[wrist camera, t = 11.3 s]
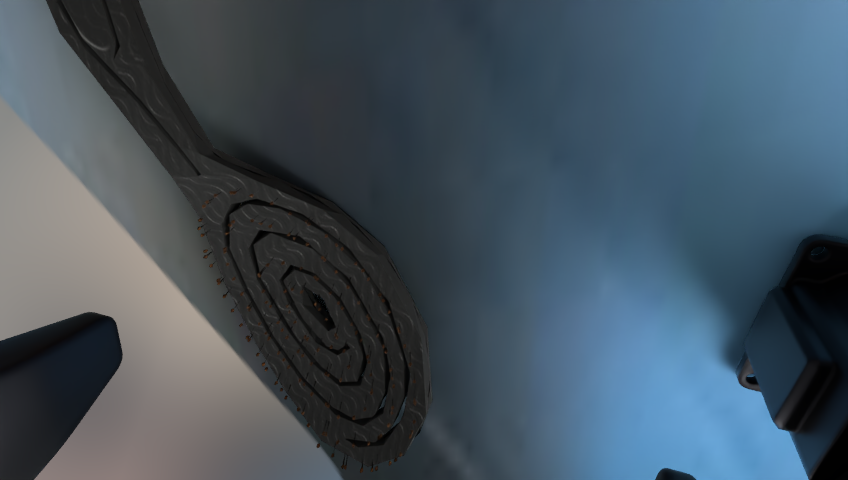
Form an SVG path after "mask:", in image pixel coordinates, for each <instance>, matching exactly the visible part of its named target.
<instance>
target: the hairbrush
mask: <svg viewBox="0 0 848 480" xmlns="http://www.w3.org/2000/svg"><path fill="white" fill-rule="evenodd" d="M46 1H47V4H48V6H49V8H50V11H51V13H52V15H53V18H54V20H55V23H56V25H57V27H58V30H59V32H60V34H61V35H62V36H63V37H64V39H65V40H66V41H67V43H68V44H69V45H70V46H71V48H72V49H73V50H74V52H75V53H76V54H77V55H78V57H79V58H80V59H81V60H82V62H83V63H84V64H85V66H86V67H87V68H88V69H89V71H90V72H91V73H92V75H93V76H94V77H95V78H96V80H97V81H98V82H99V84H100V85H101V86H102V87H103V89H104V90H105V91H106V92H107V94H108V95H109V96H110V98H111V99H112V100H113V101H114V103H115V104H116V105H117V107H118V108H119V109H120V111H121V112H122V113H123V114H124V116H125V117H126V118H127V120H128V121H129V122H130V123H131V125H132V126H133V127H134V129H135V130H136V131H137V133H138V134H139V135H140V136H141V138H142V139H143V140H144V142H145V143H146V144H147V145H148V147H149V148H150V149H151V151H152V152H153V153H154V155H155V156H156V157H157V158H158V160H159V161H160V162H161V164H162V165H163V166H164V167H165V169H166V170H167V171H168V173H169V174H170V175H171V177H172V178H173V179H174V181H175V182H176V184H177V185H178V186H179V188H180V189H181V191H182V192H183V194H184V195H185V197H186V198H187V200H188V201H189V202H190V204H191V205H192V207H193V208H194V210H195V211H196V213H197V214H198V215H199V217H200V219H198V221H199V222H202V225H203V226H201V227H203V228H204V230H205V233H206V236H207V238H208V241H209V243H210V246H211V249H212V251H213V254H214V257H215V259H216V262H217V264H218V267H219V270H220V272H221V275H222V278H223V279H222V280H224V283H225V285H226V287H227V289H228V292H229V293H230V295H231V296H232V298H233V300H234V302H235V304H236V306H237V308H238V310H239V312H240V314H241V316H242V317H243V319H244V321H245V323H246V325H247V327H248V329H249V331H250V334H251V335H252V336H253V338H254V340H255V342H256V344H257V346H258V347H259V349H260V351H261V352H262V354H263V356H264V357H265V359H266V360H267V362H268V365H270V367H271V369H272V370H273V372H274V373H275V375H276V377H277V378H278V379H277V381H278V380H279V381H280V383H281V385H282V386H283V387H282V388H281V390H280V391H283V388H284V390H285V391H286V393H287V394H288V395H289V397H290V398H291V399H292V401H293V402H294V404H295V405H296V406H297V411H299V410H300V412H301V414H302V415H303V416H304V417H305V419H306V420H307V421H308V424H307V427H308V428H309V426H311V427H312V428H313V430H314V431H315V432H316V434H317V435H318V437H319V438H320V439H321V441H323V442H325V443H327V444H328V445H330V446H332V447H334V449H335V448H336V449H337V450H339V451H341V452H343V453H344V454H346V455H347V457H348V456H350V457H351V458H353V459H355V460H357V461H359V462H360V463H362V468H361V470H360V473H362V472H363V464H364V465H366V466H367V467H369V466H372V468H371V472H373V465H375V464H379V463H382V462H385V461H388V460H390V461H389V466H390V465H391V463H392V462H391V459H394V458H395V459H394V462H396V461H397V458H398V457H401V456H404V454H405V453H406V451H407V450H408V448H409V447H410V445H411V444H412V442H413V440H414V438H415V437H416V436H417V435H418V434H419V433H420V431H421V428H422V426H423V423H424V420H425V418H426V415H427V413H428V410H429V408H430V405H431V403H432V386H431V372H430V357H429V343H428V329H427V325H426V324H425V322H424V320H423V318H422V316H421V314H420V312H419V310H418V309H417V307H416V305H415V303H414V301H413V299H412V297H411V295H410V294H409V292H408V290H407V288H406V286H405V284H404V282H403V280H402V279H401V277H400V275H399V273H398V271H397V269H396V267H395V266H394V264H393V262H392V260H391V258H390V256H389V254H388V252H387V251H386V249H385V247H384V246H383V245H382V244H381V243H380V242H378V241H377V240H376V239H375V238H374V237H373V236H371V235H370V234H369V233H368V232H367V231H365V230H364V229H363V228H362V227H361V226H360V225H358V224H357V223H356V222H355V221H354V220H352V219H351V218H350V217H349V216H348V215H347V214H345V213H344V212H343V211H342V210H341V209H339V208H338V207H337V206H336V205H335V204H334V203H332V202H331V201H329V200H326V199H324V198H322V197H320V196H317V195H315V194H313V193H311V192H308V191H306V190H304V189H302V188H299V187H297V186H295V185H293V184H291V183H288V182H286V181H284V180H282V179H279V178H277V177H275V176H273V175H270V174H268V173H266V172H264V171H262V170H260V169H258V168H255V167H253V166H251V165H249V164H247V163H245V162H243V161H241V160H238V159H236V158H234V157H232V156H230V155H228V154H226V153H224V152H221V151H219V150H217V149H215V148H214V147H213V145H212V144H211V142H210V140H209V139H208V137H207V136H206V134H205V132H204V131H203V129H202V128H201V126H200V124H199V123H198V121H197V119H196V118H195V116H194V115H193V113H192V111H191V110H190V108H189V106H188V105H187V103H186V102H185V100H184V98H183V97H182V95H181V94H180V92H179V90H178V89H177V87H176V85H175V84H174V82H173V81H172V79H171V77H170V76H169V74H168V72H167V71H166V69H165V68H164V66H163V64H162V61H161V59H160V56H159V53H158V51H157V48H156V46H155V43H154V40H153V38H152V35H151V33H150V30H149V27H148V25H147V22H146V20H145V17H144V14H143V12H142V9H141V7H140V4H139V1H138V0H46ZM248 200H249V201H248ZM244 201H247V202H245V203H244V204H242V205H241V206H240V207H239V205H240V203H241V202H244ZM238 207H239V208H238ZM201 227H198V229H197V230H200V229H201ZM263 230H264V231H268V232H266V233H264V234H263ZM204 235H205V234H201V237H203V236H204ZM207 251H208V249H206V250H204V251H203V252H204V253H206V252H207ZM210 253H211V252H210ZM210 253H209V254H210ZM209 254H208V255H209ZM208 255H205V256H204V257H203V258H207V257H208ZM214 263H215V262H214ZM214 263H213V264H214ZM213 264H210V266H209V267H213ZM293 266H294V268H293V269H292V271H291V272H290V273H289V271H290V270H291V268H292V267H293ZM220 280H221V279H219V278H218V279H217V282H218V283H217V285H219V284H221V281H222V280H221V281H220ZM219 281H220V282H219ZM228 292H227V293H228ZM312 292H314V293H315V294H317V295H318V298H319V296H320V297H322V298H323V299H324V301H325V304H326V306H327V308H328V310H329V312H328V313H327V312H326V311H325V309H324V308H323V307H322V306H321V305H322V303H321V305H320V304H319V303H318V301H317V300H318V299H317V300H316V299H315V298H314V296H313V293H312ZM227 293H226V294H224V295H223V298H225V297H226V295H227ZM322 302H323V301H322ZM232 312H234V309H231V313H232ZM329 313H330V315H331V316H330V315H329ZM331 317H332V318H331ZM244 321H243V322H244ZM242 325H243V324H242V323H241V324H240V325H239V326H240V327H241V326H242ZM252 336H251V337H252ZM249 337H250V336H247V337H246V339H248V341H247V342H249V341H250V340H251V337H250V338H249ZM260 351H259V352H260ZM259 354H260V353H257V355H256V356H259ZM266 360H265V361H266ZM367 362H368V363H367ZM366 364H367V366H366ZM264 365H265V362H264V363H262V366H264ZM365 368H366V369H365ZM267 369H268V367H266V368H265V371H267ZM364 370H365V373H364V376H363V377H362V376H361V374H362V373H363V372H364ZM410 374H411V375H410ZM277 381H276V382H275V384H274V385H276V384H278V382H277ZM407 392H408V393H407ZM386 395H387V397H386V403H385V406H384V407H383V408H381V409H379V408H380V406H381V403H382V400H383V399H384V398H385V396H386ZM406 395H407V399H406V405H405V411H404V414H403V417H402V419H401V421H400V422H399V423H398V424H397V425H395V426H394V427H393V428H392V429H391V427H392V426H393V424H394V422H395V420H396V419H397V417H398V415H399V412H400V409H401V407H402V404H403V402H404V400H405V397H406ZM284 399H287V396H285V398H284ZM378 409H379V410H378ZM390 429H391V430H390ZM386 432H387V433H386ZM385 433H386V434H385ZM319 442H320V441H319ZM319 447H320V443H319V444H317V448H319ZM331 457H332V458H333V457H334V453H333V454H332V456H331ZM344 460H345V456H344ZM346 466H347V460H346V465H345V467H344V461H343V465H342V466H341V468H342V469H343V468H344V469H345V470H346V468H347V467H346ZM377 470H378V466H376V468H375V471H377Z"/></svg>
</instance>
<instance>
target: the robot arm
mask: <svg viewBox="0 0 848 480" xmlns="http://www.w3.org/2000/svg"><path fill="white" fill-rule="evenodd" d="M817 247H824V250H823V251H822V252H821V253H819V254H817V255H812V254H811V252H812V251H813V249H815V248H817ZM743 345H744V348H745V353H744V355H743V357H742V359H741V361H740V363H739V365H738V367H737V369H736V375H737V378H738V381H739V383H740V384H741V385H742V386H743V387H745V388H747V389H751V390H755V391H759V392H762V395H763V397H764V400H765V402H766V405H767V408H768V410H769V413H770V415H771V418H772V420H773V422H774V423H775V425H776V426H777V427H778V429H782V430H786V431H789V432H790V435H791V437H792V440H793V442H794V444H795V447H796V449H797V452H798V454H799V457H800V459H801V461H802V464H803V466H804V469H805V471H806V474H807V476H808V478H809V480H848V240H847V239H842V238H837V237H831V236H826V235H812V236H809V237H807V238H805V239H804V240H803V241H802V242H801V243H800V244H799V246H798V248H797V250H796V252H795V254H794V256H793V258H792V260H791V262H790V264H789V266H788V268H787V270H786V272H785V274H784V276H783V278H782V280H781V282H780V284H779V286H777V287H775V288H773V289H772V290H770V291H769V293H768V295H767V297H766V299H765V301H764V303H763V305H762V307H761V309H760V311H759V313H758V315H757V317H756V319H755V321H754V323H753V325H752V327H751V329H750V331H749V333H748V335H747V337H746V339H745V341H744V343H743ZM122 355H123V354H122V348H121V343H120V339H119V334H118V329H117V325H116V322H115V321H114V320H113V318H111V317H109V316H105V315H101V314H98V313H93V312H87V313H83V314H80V315H78V316H74V317H71V318H68V319H65V320H62V321H59V322H56V323H53V324H50V325H47V326H44V327H41V328H38V329H35V330H32V331H29V332H26V333H23V334H20V335H17V336H14V337H11V338H8V339H5V340H2V341H0V480H34V479H35V478H36V477H37V475H38V474H39V473H40V472H41V471H42V470H43V468H44V467H45V466H46V465H47V464H48V463H49V461H50V460H51V459H52V458H53V457H54V456H55V454H56V453H57V452H58V451H59V449H60V448H61V447H62V446H63V445H64V443H65V442H66V441H67V439H68V438H69V437H70V435H71V434H72V433H73V431H74V430H75V428H76V427H77V425H78V424H79V423H80V421H81V420H82V419H83V417H84V416H85V414H86V413H87V412H88V410H89V409H90V407H91V406H92V404H93V403H94V402H95V400H96V399H97V397H98V396H99V395H100V393H101V392H102V390H103V389H104V388H105V386H106V385H107V383H108V382H109V380H110V379H111V378H112V376H113V375H114V374H115V372H116V371H117V369H118V368H119V366H120V363H121V361H122ZM749 374H755V376H754V377H747V375H749ZM655 480H696V479H695V478H694V477H693V476H691V475H690V474H687V473H683V472H679V471H676V470H672V469H668V468H664V469H662V470H661V471H660V472H659V473H658V475H657V477H656V479H655Z"/></svg>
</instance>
